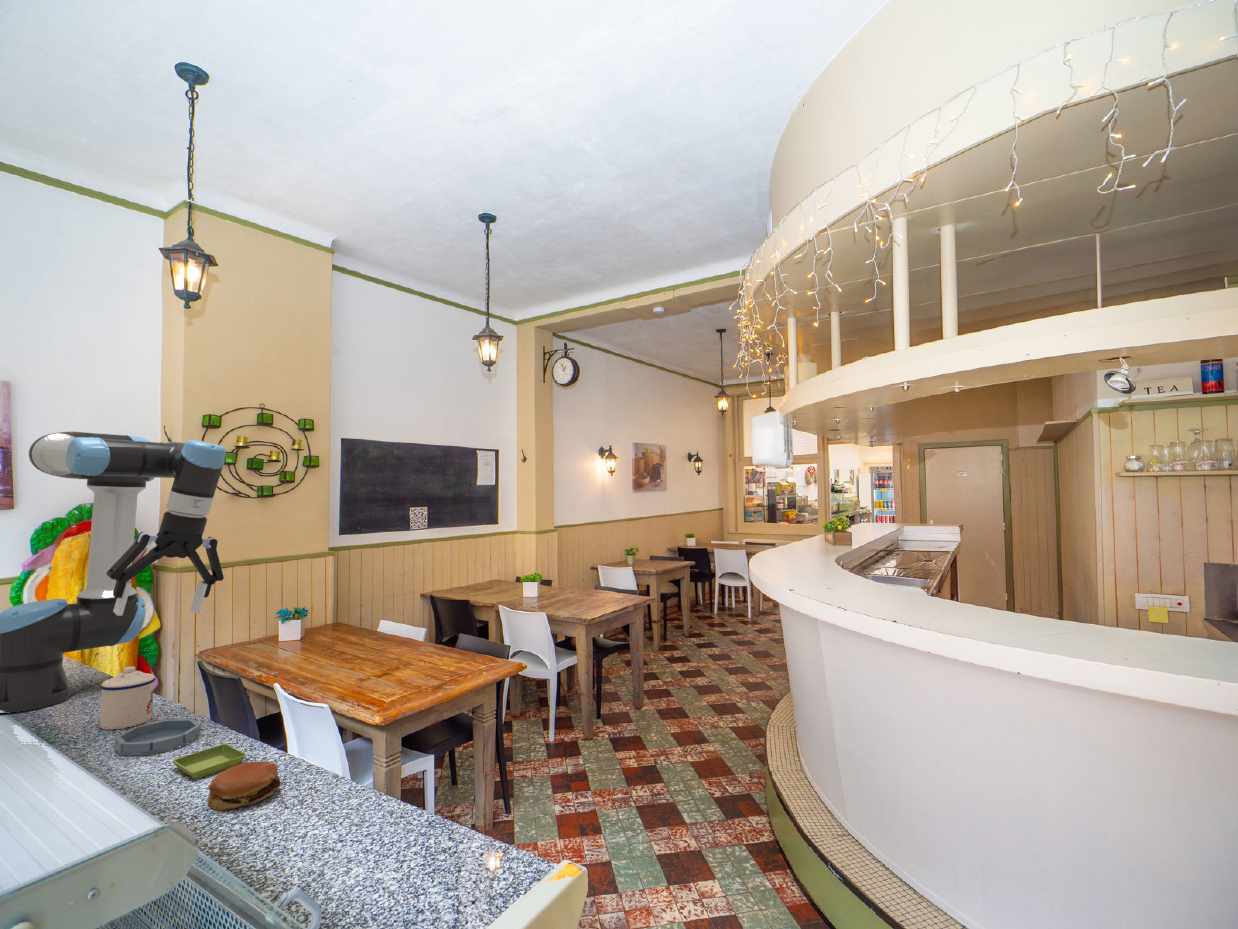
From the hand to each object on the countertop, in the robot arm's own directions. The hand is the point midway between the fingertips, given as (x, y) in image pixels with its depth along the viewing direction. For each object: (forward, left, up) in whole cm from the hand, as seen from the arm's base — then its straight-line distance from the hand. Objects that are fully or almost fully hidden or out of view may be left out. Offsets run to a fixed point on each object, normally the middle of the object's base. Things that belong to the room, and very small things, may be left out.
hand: (157, 612), depth 123 cm
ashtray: (+8, -1, -24) cm, 25 cm away
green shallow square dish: (+28, +2, -25) cm, 37 cm away
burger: (+45, +2, -25) cm, 51 cm away
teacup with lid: (-12, -2, -24) cm, 27 cm away
